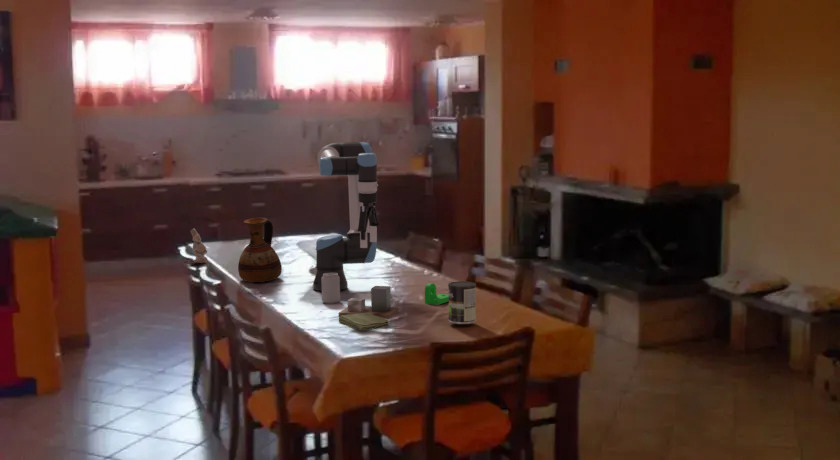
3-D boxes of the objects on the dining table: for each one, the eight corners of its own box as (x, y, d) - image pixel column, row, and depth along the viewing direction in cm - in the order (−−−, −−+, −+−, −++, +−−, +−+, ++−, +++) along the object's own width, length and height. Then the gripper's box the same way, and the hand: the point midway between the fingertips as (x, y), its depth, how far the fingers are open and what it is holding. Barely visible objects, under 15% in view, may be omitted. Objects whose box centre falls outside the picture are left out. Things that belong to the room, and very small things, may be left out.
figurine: (189, 266, 483) (187, 228, 481) (205, 264, 488) (203, 226, 486) (196, 268, 476) (194, 229, 474) (212, 266, 481) (210, 228, 479)
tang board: (338, 316, 358) (338, 302, 358) (349, 309, 372) (349, 295, 371) (388, 318, 354) (388, 304, 353) (398, 311, 367) (398, 297, 366)
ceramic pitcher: (230, 283, 432) (227, 219, 428) (253, 276, 450) (251, 214, 447) (267, 286, 424) (265, 220, 421) (289, 278, 443) (287, 215, 439)
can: (343, 300, 389) (342, 272, 387) (335, 304, 382) (335, 275, 380) (326, 300, 391) (325, 271, 390) (318, 303, 384) (318, 274, 383)
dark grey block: (371, 311, 359) (371, 288, 358) (375, 308, 365) (375, 285, 364) (386, 312, 358) (386, 289, 357) (390, 309, 364) (390, 286, 362)
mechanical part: (437, 305, 379) (437, 285, 378) (425, 303, 382) (424, 284, 381) (453, 299, 389) (452, 280, 388) (440, 298, 392) (440, 279, 391)
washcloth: (361, 332, 335) (360, 323, 334) (336, 323, 349) (336, 314, 349) (391, 326, 342) (391, 318, 342) (366, 318, 357) (366, 310, 356)
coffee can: (450, 324, 342) (449, 286, 341) (446, 318, 353) (446, 281, 351) (478, 323, 343) (477, 285, 342) (474, 317, 353) (473, 280, 352)
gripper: (368, 196, 360) (368, 250, 363) (385, 188, 384) (386, 239, 387) (349, 195, 362) (350, 249, 365) (367, 188, 386) (368, 239, 389)
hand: (368, 244), depth 376 cm, fingers open, 13 cm apart
